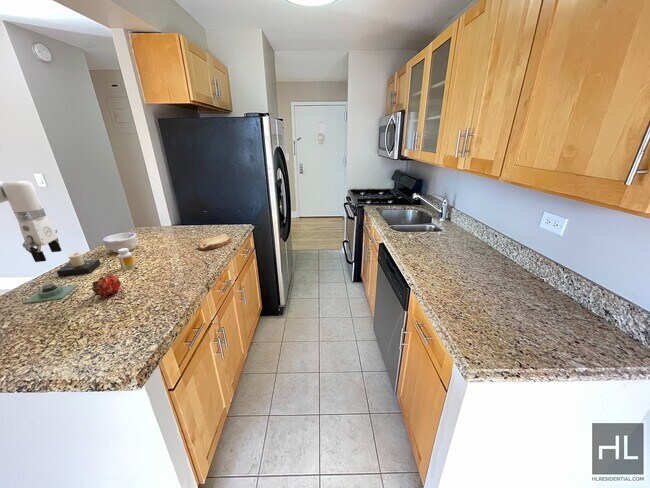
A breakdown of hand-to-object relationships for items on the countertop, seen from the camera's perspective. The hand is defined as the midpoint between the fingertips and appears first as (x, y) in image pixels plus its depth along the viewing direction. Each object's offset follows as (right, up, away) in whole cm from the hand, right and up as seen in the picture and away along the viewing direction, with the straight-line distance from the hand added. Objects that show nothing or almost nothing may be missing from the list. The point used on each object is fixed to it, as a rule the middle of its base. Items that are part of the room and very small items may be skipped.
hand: (49, 256), depth 103 cm
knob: (-7, -5, +19) cm, 21 cm away
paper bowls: (-5, +2, +44) cm, 45 cm away
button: (+3, -13, -2) cm, 14 cm away
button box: (+3, -17, -1) cm, 17 cm away
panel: (-7, -8, +21) cm, 23 cm away
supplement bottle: (+14, -7, +23) cm, 28 cm away
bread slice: (+44, +5, +52) cm, 69 cm away
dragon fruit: (+23, -15, +2) cm, 27 cm away
